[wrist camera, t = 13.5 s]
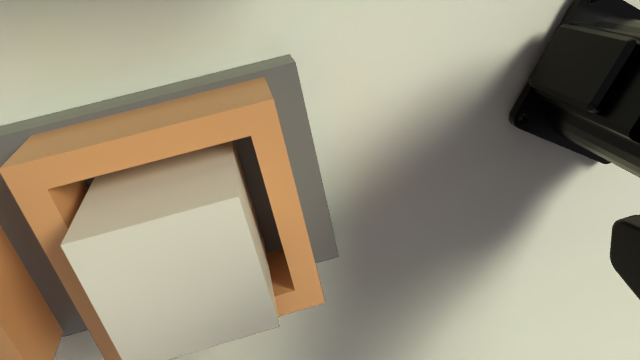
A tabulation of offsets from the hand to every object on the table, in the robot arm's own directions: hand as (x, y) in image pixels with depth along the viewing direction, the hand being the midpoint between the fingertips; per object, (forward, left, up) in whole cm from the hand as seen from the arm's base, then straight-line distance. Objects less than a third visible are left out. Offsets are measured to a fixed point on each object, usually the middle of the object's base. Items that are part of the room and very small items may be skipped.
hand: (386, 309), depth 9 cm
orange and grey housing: (+7, +8, -13) cm, 17 cm away
